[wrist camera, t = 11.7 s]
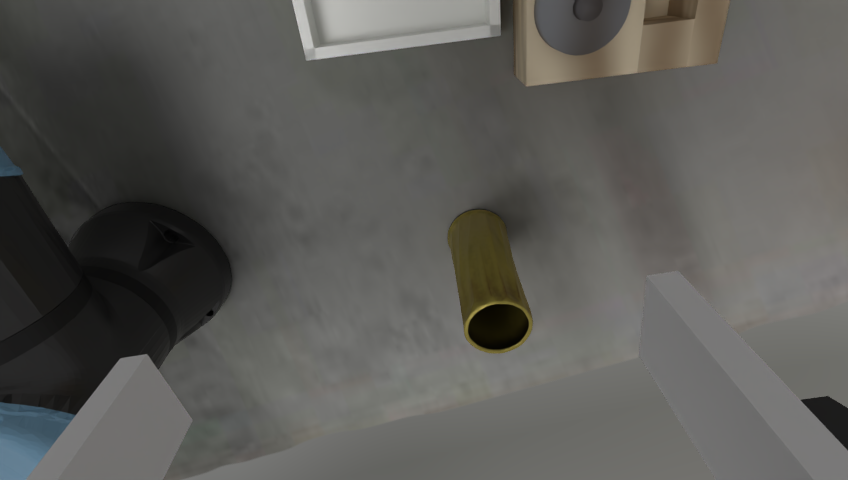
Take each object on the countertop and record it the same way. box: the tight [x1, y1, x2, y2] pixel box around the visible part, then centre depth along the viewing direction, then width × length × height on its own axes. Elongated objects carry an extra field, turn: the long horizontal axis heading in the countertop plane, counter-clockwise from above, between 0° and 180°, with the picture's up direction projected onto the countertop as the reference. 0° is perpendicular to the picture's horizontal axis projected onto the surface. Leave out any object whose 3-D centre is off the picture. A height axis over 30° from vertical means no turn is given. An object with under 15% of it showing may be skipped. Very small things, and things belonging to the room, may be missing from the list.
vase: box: [448, 210, 533, 353], centre depth 39 cm, size 6×6×14 cm
